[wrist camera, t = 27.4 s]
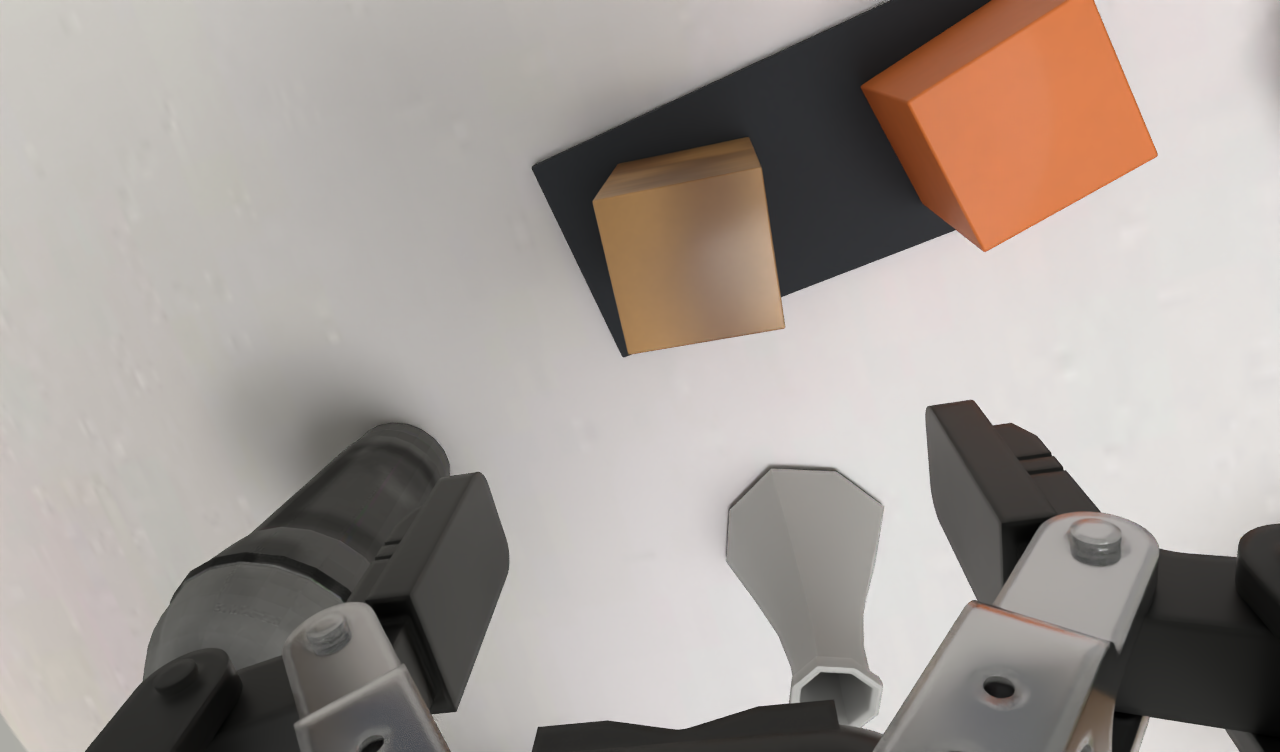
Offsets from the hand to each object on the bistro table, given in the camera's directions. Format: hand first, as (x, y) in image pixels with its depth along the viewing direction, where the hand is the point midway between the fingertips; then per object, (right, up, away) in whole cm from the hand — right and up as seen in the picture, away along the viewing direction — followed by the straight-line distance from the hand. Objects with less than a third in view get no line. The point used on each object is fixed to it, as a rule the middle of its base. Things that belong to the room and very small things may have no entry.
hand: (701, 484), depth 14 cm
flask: (+6, -5, +22) cm, 23 cm away
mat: (+6, +10, +15) cm, 19 cm away
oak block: (+1, +8, +16) cm, 18 cm away
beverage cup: (-12, -2, +22) cm, 25 cm away
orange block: (+10, +11, +13) cm, 20 cm away
